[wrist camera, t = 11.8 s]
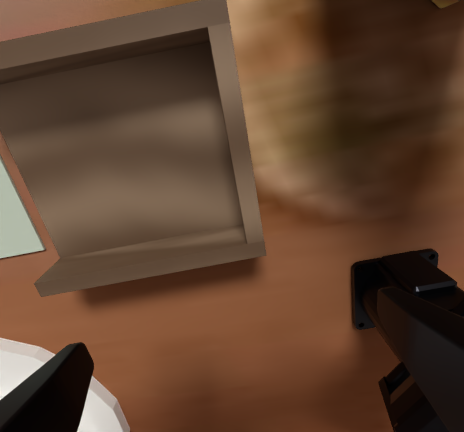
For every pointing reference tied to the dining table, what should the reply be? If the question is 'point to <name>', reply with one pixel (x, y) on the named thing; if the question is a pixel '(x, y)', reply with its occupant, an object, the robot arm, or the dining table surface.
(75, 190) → the walnut box
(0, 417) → the robot arm
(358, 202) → the dining table surface
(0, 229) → the cover plate
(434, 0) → the candy box
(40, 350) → the dish
